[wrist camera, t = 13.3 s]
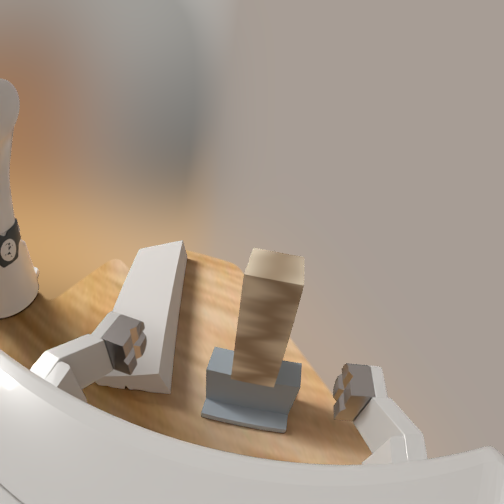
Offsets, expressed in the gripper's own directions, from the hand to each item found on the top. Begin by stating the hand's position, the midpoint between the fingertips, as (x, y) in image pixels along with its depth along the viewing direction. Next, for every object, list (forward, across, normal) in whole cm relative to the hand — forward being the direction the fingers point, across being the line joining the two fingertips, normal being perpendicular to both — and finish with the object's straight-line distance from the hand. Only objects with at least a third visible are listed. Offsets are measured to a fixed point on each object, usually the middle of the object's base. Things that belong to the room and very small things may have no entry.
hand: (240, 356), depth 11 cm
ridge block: (+13, +1, -23) cm, 26 cm away
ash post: (+13, +1, -16) cm, 20 cm away
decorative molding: (+26, -18, -24) cm, 40 cm away
